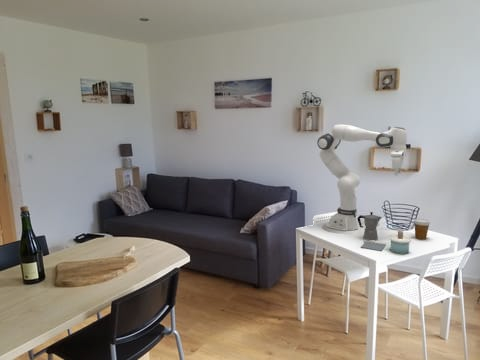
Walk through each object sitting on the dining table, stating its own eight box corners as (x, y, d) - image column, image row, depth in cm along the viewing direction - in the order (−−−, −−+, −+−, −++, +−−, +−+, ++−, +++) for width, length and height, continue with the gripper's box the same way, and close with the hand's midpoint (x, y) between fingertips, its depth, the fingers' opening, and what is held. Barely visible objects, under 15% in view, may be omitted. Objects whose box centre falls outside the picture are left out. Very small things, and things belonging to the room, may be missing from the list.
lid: (387, 240, 209) (388, 232, 208) (391, 235, 218) (391, 227, 218) (409, 244, 203) (409, 235, 202) (412, 238, 212) (412, 230, 211)
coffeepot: (379, 236, 238) (380, 210, 235) (382, 241, 229) (383, 214, 226) (355, 235, 240) (356, 210, 237) (357, 240, 231) (358, 213, 228)
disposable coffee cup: (425, 235, 237) (426, 218, 235) (431, 240, 228) (432, 222, 226) (410, 235, 238) (411, 218, 236) (415, 240, 229) (417, 222, 227)
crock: (388, 252, 210) (388, 240, 209) (391, 246, 219) (392, 235, 218) (407, 255, 204) (408, 243, 203) (410, 249, 213) (411, 238, 212)
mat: (360, 247, 218) (360, 246, 218) (365, 241, 228) (365, 241, 228) (381, 251, 212) (381, 250, 211) (385, 245, 221) (385, 244, 221)
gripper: (395, 151, 236) (395, 171, 238) (390, 154, 219) (389, 176, 221) (406, 151, 233) (405, 172, 235) (401, 154, 216) (400, 176, 218)
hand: (397, 174), depth 228 cm, fingers open, 8 cm apart
